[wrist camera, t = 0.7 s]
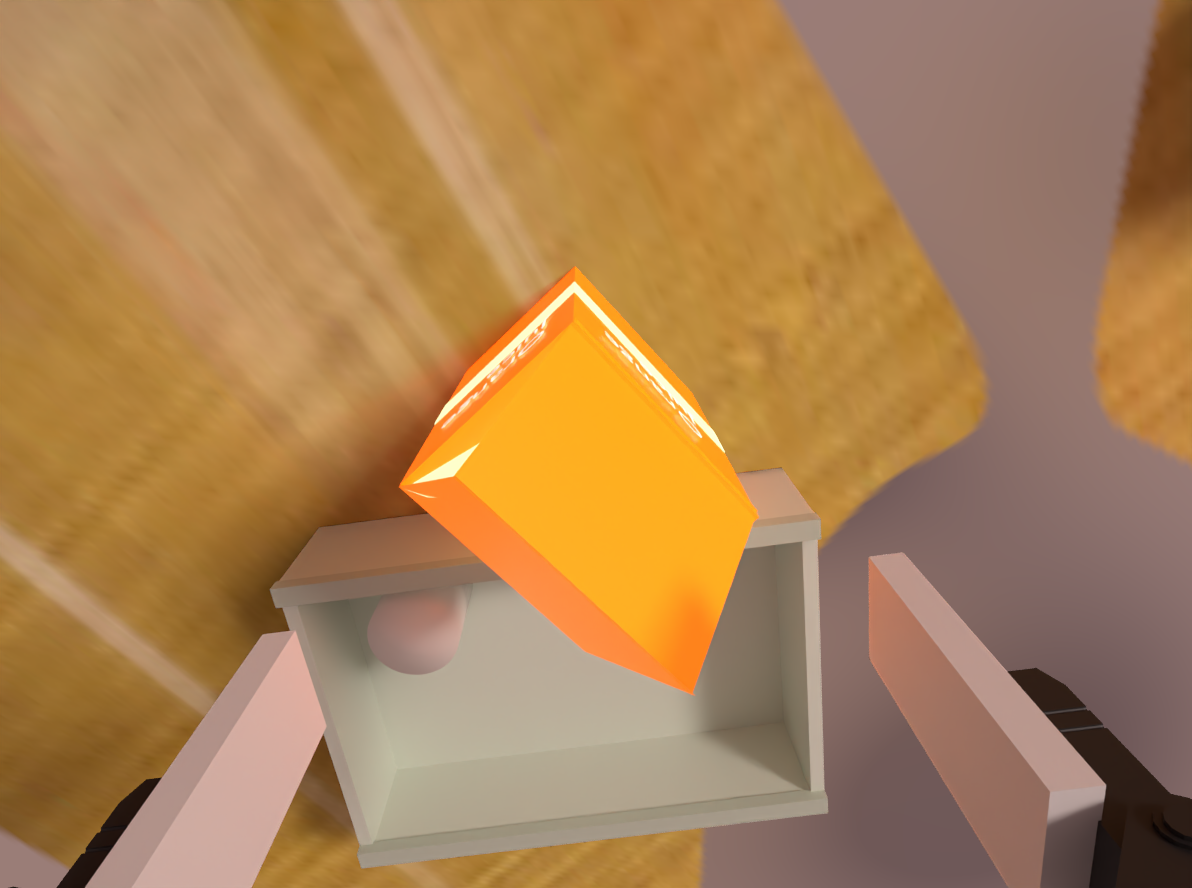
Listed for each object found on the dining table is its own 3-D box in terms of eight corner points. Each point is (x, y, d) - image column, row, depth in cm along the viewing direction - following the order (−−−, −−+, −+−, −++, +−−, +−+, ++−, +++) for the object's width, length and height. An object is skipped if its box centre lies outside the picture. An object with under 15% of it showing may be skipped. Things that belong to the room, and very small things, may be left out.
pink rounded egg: (402, 622, 40) (378, 680, 36) (383, 552, 39) (357, 603, 34) (479, 612, 40) (466, 668, 36) (464, 542, 39) (449, 591, 34)
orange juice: (576, 263, 34) (573, 360, 16) (695, 392, 37) (817, 611, 18) (463, 372, 36) (339, 577, 17) (583, 489, 39) (589, 781, 20)
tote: (391, 773, 45) (361, 868, 39) (318, 525, 39) (269, 589, 33) (793, 725, 44) (828, 812, 38) (781, 465, 38) (820, 519, 32)
